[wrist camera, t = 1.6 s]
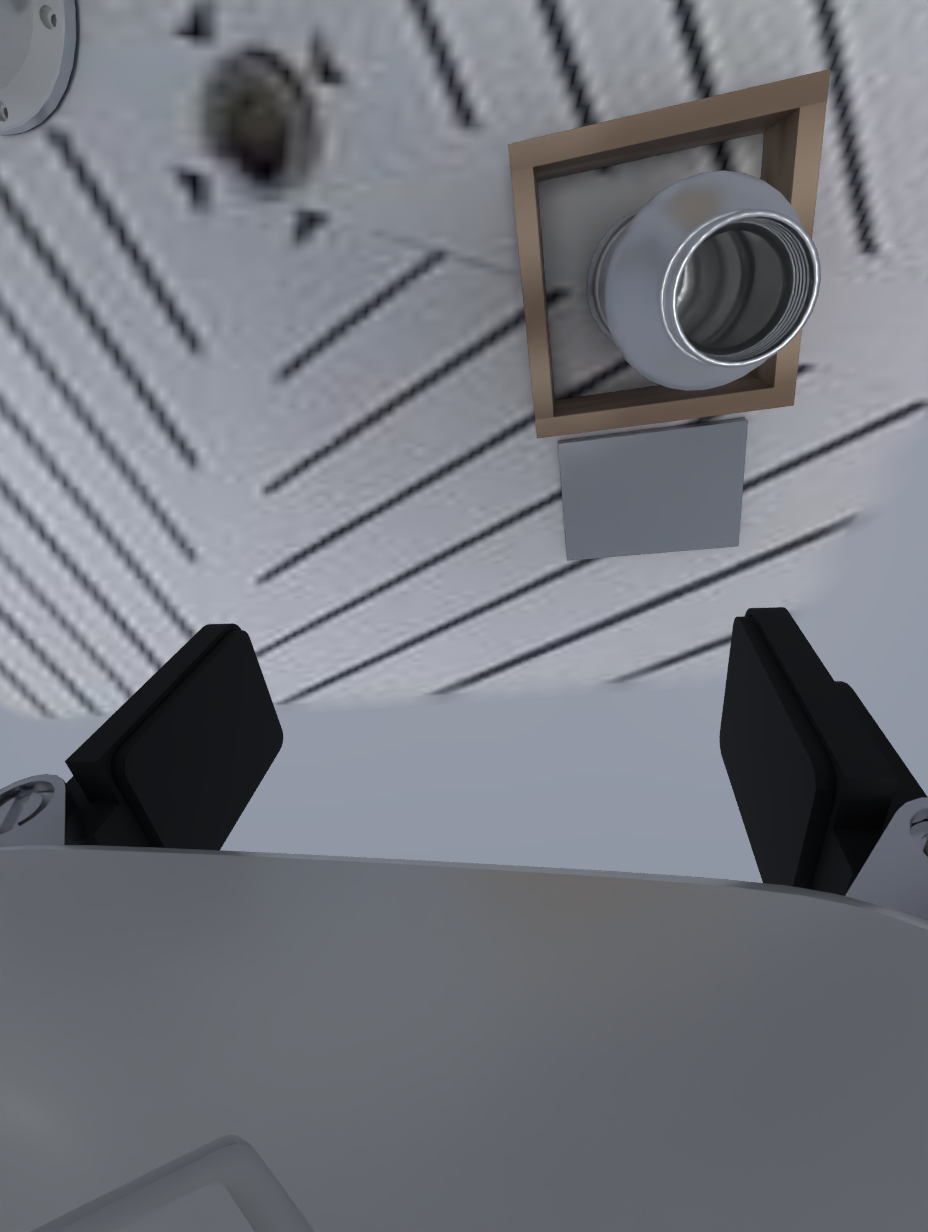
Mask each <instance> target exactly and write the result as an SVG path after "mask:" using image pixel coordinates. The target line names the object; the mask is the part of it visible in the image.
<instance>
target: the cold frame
mask: <svg viewBox="0 0 928 1232" xmlns="http://www.w3.org/2000/svg"><path fill="white" fill-rule="evenodd" d="M829 77H830V69H829V70H824V71H820V72H816V73H812V74H807V75H803V76H799V77H794V78H790V79H786V80H782V81H777V82H773V83H769V84H765V85H760V86H756V87H752V88H747V89H743V90H739V91H735V92H730V93H726V94H722V95H717V96H713V97H709V98H705V99H700V100H696V101H692V102H687V103H683V104H679V105H675V106H670V107H666V108H662V109H657V110H653V111H649V112H645V113H640V114H636V115H632V116H627V117H623V118H619V119H615V120H610V121H606V122H602V123H597V124H593V125H589V126H585V127H580V128H576V129H572V130H568V131H563V132H559V133H555V134H550V135H546V136H542V137H538V138H533V139H529V140H525V141H520V142H516V143H512V144H508V148H509V158H510V168H511V178H512V188H513V199H514V209H515V219H516V229H517V240H518V250H519V260H520V270H521V280H522V291H523V301H524V311H525V321H526V331H527V342H528V352H529V362H530V372H531V382H532V393H533V403H534V413H535V423H536V433H537V438H544V437H552V436H560V435H567V434H575V433H583V432H591V431H599V430H606V429H614V428H622V427H630V426H638V425H645V424H653V423H661V422H669V421H677V420H684V419H692V418H700V417H708V416H716V415H723V414H731V413H739V412H747V411H755V410H762V409H770V408H778V407H786V406H794V397H795V388H796V379H797V370H798V361H799V351H800V342H801V333H802V329H801V331H800V332H799V333H798V335H797V336H796V337H795V338H794V339H793V340H792V341H791V342H790V343H789V344H788V345H787V346H786V347H785V348H783V349H782V350H780V351H779V352H778V353H776V354H775V355H773V356H772V357H770V358H768V359H767V360H766V361H765V362H764V363H763V364H761V365H760V366H758V367H757V368H755V369H754V370H752V371H751V372H749V373H748V374H746V375H745V376H743V377H741V378H739V379H737V380H734V381H732V382H730V383H728V384H725V385H722V386H718V387H714V388H710V389H706V390H691V391H685V390H679V389H672V388H668V387H665V386H662V385H659V386H652V387H644V388H637V389H630V390H623V391H616V392H609V393H602V394H595V395H588V396H580V397H573V398H566V399H559V400H555V397H554V385H553V372H552V360H551V348H550V335H549V323H548V311H547V298H546V286H545V274H544V261H543V249H542V237H541V224H540V212H539V199H538V187H537V182H538V181H542V180H547V179H552V178H556V177H561V176H565V175H570V174H575V173H579V172H584V171H588V170H593V169H597V168H602V167H607V166H611V165H616V164H620V163H625V162H630V161H634V160H639V159H643V158H648V157H652V156H657V155H662V154H666V153H671V152H675V151H680V150H685V149H689V148H694V147H698V146H703V145H708V144H712V143H717V142H721V141H726V140H730V139H735V138H740V137H744V136H749V135H753V134H758V133H763V132H764V143H763V157H762V171H761V180H764V181H765V182H766V183H768V184H769V185H771V186H772V187H773V188H775V189H776V190H778V191H779V192H780V193H781V194H782V195H783V196H784V197H785V198H786V200H787V201H788V202H789V203H790V204H791V206H792V207H793V208H794V209H795V211H796V213H797V215H798V217H799V219H800V221H801V223H802V225H803V227H804V229H805V231H806V232H807V233H808V234H809V235H810V237H811V239H812V233H813V223H814V214H815V205H816V196H817V187H818V178H819V168H820V159H821V150H822V141H823V132H824V123H825V114H826V104H827V95H828V86H829Z"/></svg>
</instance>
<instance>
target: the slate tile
mask: <svg viewBox="0 0 928 1232" xmlns="http://www.w3.org/2000/svg"><path fill="white" fill-rule="evenodd" d="M747 424H748V420H747V419H745V418H736V419H729V420H721V421H713V422H705V423H697V424H689V425H681V426H673V427H665V428H657V429H649V430H642V431H634V432H626V433H618V434H610V435H602V436H594V437H586V438H578V439H570V440H562V441H558V451H559V463H560V475H561V488H562V500H563V512H564V525H565V537H566V549H567V561H569V560H581V559H592V558H604V557H616V556H628V555H640V554H652V553H663V552H675V551H687V550H699V549H711V548H723V547H734V546H739V533H740V519H741V506H742V492H743V478H744V465H745V451H746V438H747Z"/></svg>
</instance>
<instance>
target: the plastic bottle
mask: <svg viewBox="0 0 928 1232" xmlns="http://www.w3.org/2000/svg"><path fill="white" fill-rule="evenodd" d="M820 280H821V274H820V261H819V257H818V253H817V249H816V247H815V245H814V243H813V241H812V239H811V237H810V235H809V234H808V233H807V232H806V231H805V229H804V227H803V225H802V223H801V221H800V219H799V217H798V215H797V213H796V211H795V209H794V208H793V207H792V206H791V204H790V203H789V202H788V201H787V200H786V198H785V197H784V196H783V195H782V194H781V193H780V192H779V191H778V190H776V189H775V188H773V187H772V186H771V185H769V184H768V183H766V182H765V181H764V180H761V179H758V178H756V177H753V176H751V175H748V174H745V173H739V172H731V171H715V172H706V173H700V174H697V175H694V176H691V177H688V178H685V179H682V180H680V181H678V182H676V183H675V184H673V185H671V186H669V187H668V188H666V189H664V190H663V191H661V192H660V193H658V194H657V195H656V196H655V197H654V198H653V199H651V200H650V201H649V202H648V203H647V204H646V205H644V206H643V207H642V208H641V209H638V210H635V211H634V212H632V213H630V214H628V215H627V216H625V217H623V218H622V219H621V220H619V221H618V222H617V223H616V224H615V225H614V226H613V227H611V229H610V230H609V231H608V232H607V234H606V235H605V236H604V237H603V238H602V240H601V242H600V244H599V245H598V247H597V249H596V251H595V253H594V256H593V258H592V261H591V264H590V268H589V274H588V280H587V292H588V300H589V305H590V309H591V312H592V314H593V317H594V319H595V321H596V323H597V324H598V326H599V327H600V329H601V330H602V331H603V332H604V333H605V334H606V335H607V336H608V337H609V338H610V339H611V340H612V341H614V342H615V345H616V346H617V348H618V350H619V351H620V353H621V354H622V356H623V357H624V359H625V360H626V361H627V362H628V363H629V364H630V365H631V366H632V367H633V368H634V369H635V370H636V371H637V372H638V373H639V374H641V375H642V376H644V377H646V378H647V379H649V380H650V381H652V382H654V383H657V384H659V385H662V386H665V387H668V388H672V389H679V390H685V391H691V390H706V389H710V388H714V387H718V386H722V385H725V384H728V383H730V382H732V381H734V380H737V379H739V378H741V377H743V376H745V375H746V374H748V373H749V372H751V371H752V370H754V369H755V368H757V367H758V366H760V365H761V364H763V363H764V362H765V361H766V360H767V359H768V358H770V357H772V356H773V355H775V354H776V353H778V352H779V351H780V350H782V349H783V348H785V347H786V346H787V345H788V344H789V343H790V342H791V341H792V340H793V339H794V338H795V337H796V336H797V335H798V333H799V332H800V331H801V329H802V328H803V327H804V326H805V324H806V322H807V320H808V318H809V317H810V315H811V313H812V311H813V309H814V306H815V303H816V300H817V297H818V293H819V287H820Z"/></svg>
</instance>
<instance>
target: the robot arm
mask: <svg viewBox="0 0 928 1232" xmlns="http://www.w3.org/2000/svg"><path fill="white" fill-rule="evenodd" d="M75 45H76V14H75V2H74V0H0V135H12V134H17V133H22V132H26V131H28V130H30V129H31V128H33V127H35V126H37V125H39V124H40V123H42V122H43V121H44V120H45V119H46V118H47V117H48V116H49V115H50V114H51V113H52V112H53V110H54V109H55V108H56V106H57V105H58V103H59V101H60V99H61V97H62V96H63V94H64V92H65V90H66V88H67V84H68V81H69V78H70V74H71V71H72V68H73V62H74V53H75ZM282 743H283V732H282V728H281V725H280V723H279V720H278V717H277V714H276V711H275V708H274V705H273V703H272V700H271V697H270V694H269V691H268V688H267V686H266V683H265V680H264V677H263V674H262V671H261V669H260V666H259V663H258V660H257V657H256V654H255V651H254V649H253V646H252V643H251V640H250V637H249V635H248V634H247V632H246V631H243V630H241V628H240V627H239V626H238V625H236V624H209V625H206V626H204V627H203V628H202V629H201V630H200V631H199V632H197V633H196V634H195V635H194V636H193V637H192V638H191V639H190V640H189V641H188V642H187V643H186V644H185V645H184V646H183V647H182V648H181V649H180V650H179V651H178V652H177V653H176V654H175V655H174V656H173V657H172V658H171V659H170V660H169V661H168V662H167V663H166V664H165V665H164V666H163V667H161V668H160V669H159V670H158V671H157V672H156V673H155V674H154V675H153V676H152V677H151V678H150V679H149V680H148V681H147V682H146V683H145V684H144V685H143V686H142V687H141V688H140V689H139V690H138V691H137V692H136V693H135V694H134V695H133V696H132V697H131V698H130V699H129V700H128V701H127V702H126V703H124V704H123V705H122V706H121V707H120V708H119V709H118V710H117V711H116V712H115V713H114V714H113V715H112V716H111V717H110V718H109V719H108V720H107V721H106V722H105V723H104V724H103V725H102V726H101V727H100V728H99V729H98V730H97V731H96V732H95V733H94V734H93V735H92V736H91V737H90V738H89V739H87V740H86V741H85V742H84V743H83V744H82V745H81V746H80V747H79V748H78V749H77V750H76V751H75V752H74V753H73V754H72V755H71V756H70V757H69V758H68V759H67V760H66V761H65V762H66V764H67V766H68V767H69V769H70V771H71V772H72V774H73V777H72V778H71V779H70V780H69V781H68V782H67V783H65V782H64V780H63V779H62V778H60V777H58V776H57V775H49V774H44V775H36V776H31V777H28V778H25V779H22V780H19V781H17V782H14V783H12V784H10V785H8V786H6V787H4V788H2V789H0V1232H928V797H927V796H926V794H925V793H924V791H923V790H922V788H921V787H920V786H919V784H918V783H917V781H916V780H915V778H914V777H913V776H912V774H911V773H910V771H909V770H908V768H907V767H906V765H905V764H904V762H903V761H902V759H901V758H900V757H899V755H898V754H897V752H896V751H895V749H894V748H893V746H892V745H891V744H890V742H889V741H888V739H887V738H886V737H885V735H884V733H883V732H882V731H881V729H880V728H879V726H878V725H877V723H876V722H875V720H874V719H873V718H872V716H871V715H870V714H869V712H868V710H867V709H866V708H865V706H864V705H863V703H862V702H861V700H860V699H859V697H858V696H857V695H856V693H855V692H854V690H853V689H852V688H851V687H850V686H849V685H848V684H847V683H844V682H842V681H839V682H838V681H837V682H836V681H834V680H833V678H832V677H831V675H830V674H829V672H828V671H827V669H826V668H825V666H824V665H823V663H822V662H821V660H820V659H819V657H818V656H817V654H816V653H815V651H814V650H813V648H812V647H811V645H810V643H809V642H808V640H807V639H806V637H805V636H804V634H803V633H802V631H801V630H800V628H799V627H798V625H797V624H796V622H795V621H794V619H793V618H792V616H791V615H790V613H789V612H788V610H787V609H786V608H783V607H778V608H749V609H748V610H747V612H746V614H745V617H736V618H735V620H734V624H733V631H732V639H731V647H730V655H729V664H728V672H727V680H726V689H725V696H724V705H723V712H722V721H721V729H720V749H721V754H722V758H723V761H724V764H725V767H726V770H727V773H728V776H729V779H730V782H731V785H732V789H733V792H734V795H735V798H736V801H737V804H738V807H739V810H740V813H741V816H742V819H743V823H744V825H745V829H746V832H747V835H748V838H749V841H750V844H751V847H752V850H753V853H754V856H755V860H756V862H757V866H758V868H759V872H760V875H761V878H762V881H763V883H756V882H745V881H737V880H728V879H716V878H715V879H714V878H704V877H691V876H676V875H660V874H645V873H632V872H631V873H630V872H618V871H601V870H583V869H566V868H548V867H529V866H513V865H496V864H479V863H461V862H441V861H423V860H404V859H385V858H366V857H346V856H345V857H344V856H326V855H306V854H286V853H265V852H263V853H262V852H243V851H220V849H221V847H222V846H223V844H224V842H225V841H226V839H227V837H228V836H229V834H230V832H231V831H232V829H233V827H234V826H235V824H236V822H237V821H238V819H239V817H240V816H241V814H242V812H243V811H244V809H245V807H246V806H247V804H248V802H249V801H250V799H251V797H252V796H253V794H254V792H255V791H256V789H257V787H258V786H259V784H260V782H261V781H262V779H263V777H264V776H265V774H266V772H267V771H268V769H269V767H270V766H271V764H272V762H273V761H274V759H275V757H276V756H277V754H278V752H279V751H280V749H281V747H282Z"/></svg>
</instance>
